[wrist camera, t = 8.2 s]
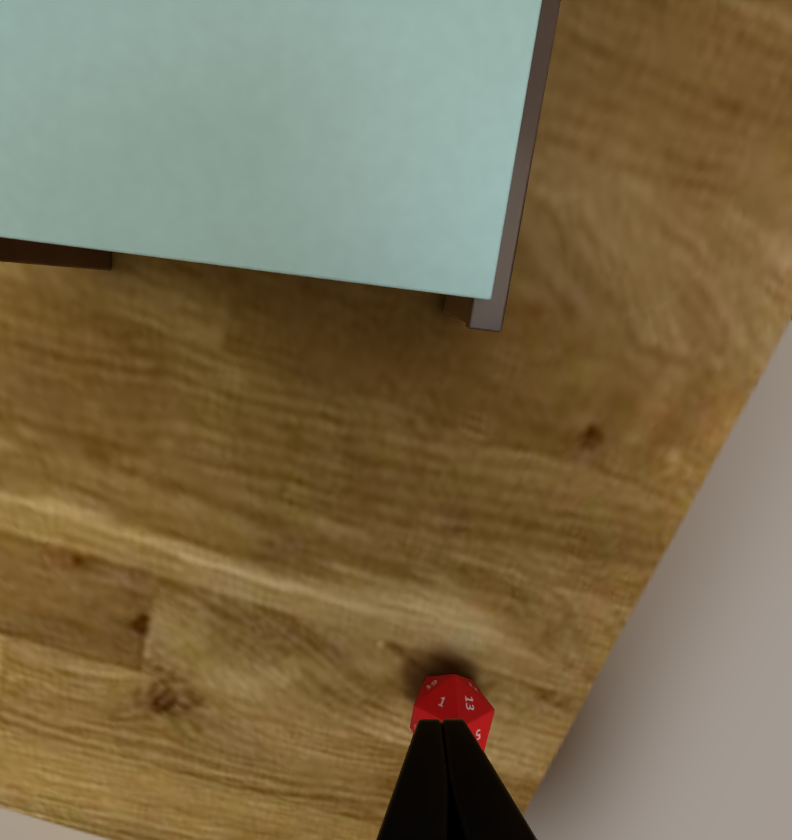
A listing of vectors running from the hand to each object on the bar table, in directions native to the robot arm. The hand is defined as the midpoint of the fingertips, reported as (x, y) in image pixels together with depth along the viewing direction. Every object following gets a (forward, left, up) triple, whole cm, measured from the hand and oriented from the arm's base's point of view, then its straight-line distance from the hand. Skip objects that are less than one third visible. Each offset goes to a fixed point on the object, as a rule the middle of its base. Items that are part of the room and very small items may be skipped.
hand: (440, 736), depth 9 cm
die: (-3, +10, -12) cm, 16 cm away
